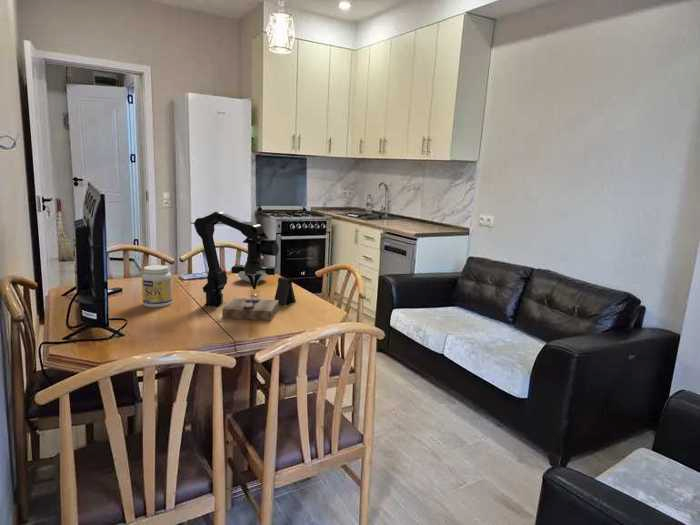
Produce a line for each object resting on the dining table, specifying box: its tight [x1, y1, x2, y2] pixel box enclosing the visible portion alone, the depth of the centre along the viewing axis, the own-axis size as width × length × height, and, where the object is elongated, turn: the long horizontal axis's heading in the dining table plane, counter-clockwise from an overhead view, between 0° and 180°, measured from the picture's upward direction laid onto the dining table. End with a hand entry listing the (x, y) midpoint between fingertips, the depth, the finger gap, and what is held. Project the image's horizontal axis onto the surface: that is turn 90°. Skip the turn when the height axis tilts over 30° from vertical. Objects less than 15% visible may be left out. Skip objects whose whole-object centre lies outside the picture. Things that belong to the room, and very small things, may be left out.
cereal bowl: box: [237, 266, 268, 283], centre depth 255 cm, size 17×17×7 cm
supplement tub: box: [141, 264, 173, 308], centre depth 204 cm, size 12×12×17 cm
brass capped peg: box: [250, 293, 259, 303], centre depth 201 cm, size 3×3×4 cm
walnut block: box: [221, 297, 280, 321], centre depth 197 cm, size 20×17×4 cm
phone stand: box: [273, 276, 297, 307], centre depth 214 cm, size 9×6×12 cm, turn 147°
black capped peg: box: [245, 300, 252, 309], centre depth 191 cm, size 3×3×4 cm
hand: (254, 289), depth 201 cm, fingers closed
